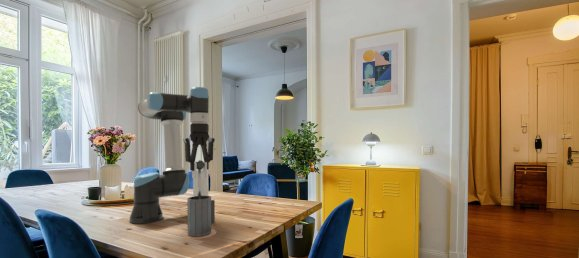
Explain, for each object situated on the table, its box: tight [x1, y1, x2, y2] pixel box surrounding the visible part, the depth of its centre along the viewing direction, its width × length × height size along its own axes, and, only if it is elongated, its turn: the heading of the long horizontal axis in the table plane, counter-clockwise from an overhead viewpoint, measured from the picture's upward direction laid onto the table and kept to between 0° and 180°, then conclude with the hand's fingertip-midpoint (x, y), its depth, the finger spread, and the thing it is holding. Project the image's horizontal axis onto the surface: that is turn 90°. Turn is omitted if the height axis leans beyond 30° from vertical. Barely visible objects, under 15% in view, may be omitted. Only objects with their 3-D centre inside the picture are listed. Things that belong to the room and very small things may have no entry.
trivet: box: [181, 228, 218, 240], centre depth 120 cm, size 14×14×1 cm
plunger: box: [195, 159, 204, 200], centre depth 121 cm, size 6×6×19 cm
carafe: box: [186, 195, 216, 237], centre depth 121 cm, size 10×12×15 cm
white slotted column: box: [192, 170, 209, 197], centre depth 139 cm, size 7×7×25 cm
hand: (199, 177), depth 121 cm, fingers closed on plunger, 4 cm apart
